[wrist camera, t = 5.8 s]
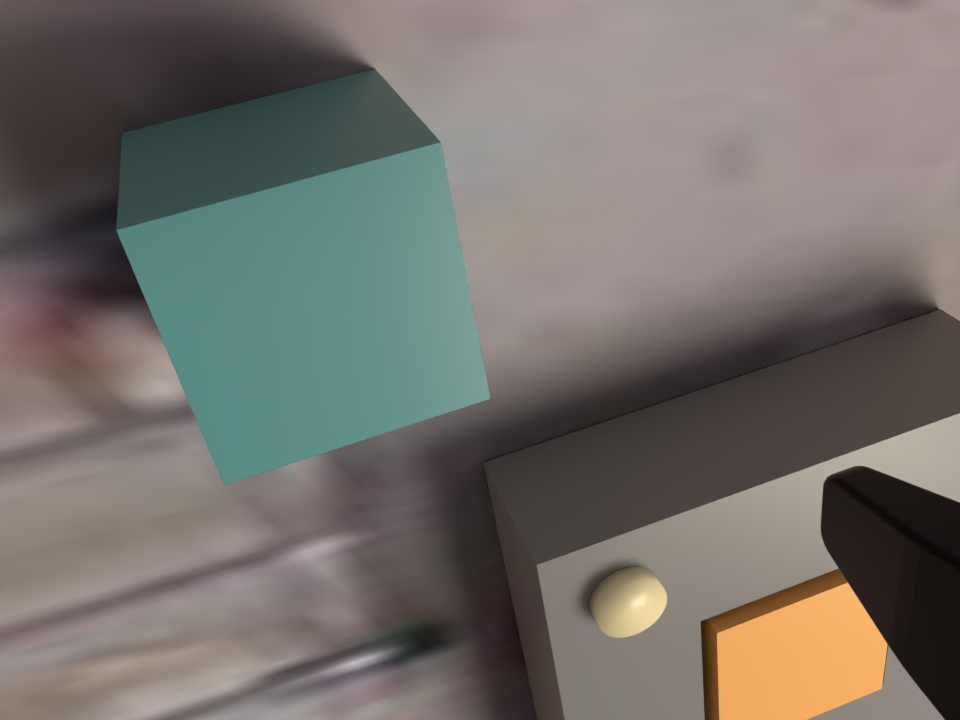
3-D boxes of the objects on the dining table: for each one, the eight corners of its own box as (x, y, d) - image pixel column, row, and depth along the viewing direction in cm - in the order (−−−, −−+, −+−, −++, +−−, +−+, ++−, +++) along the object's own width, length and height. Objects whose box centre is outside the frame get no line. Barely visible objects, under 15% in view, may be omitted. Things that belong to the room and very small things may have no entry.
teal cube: (422, 284, 21) (490, 398, 17) (207, 348, 20) (223, 485, 16) (374, 68, 18) (440, 142, 14) (122, 131, 17) (115, 230, 13)
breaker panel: (896, 628, 34) (987, 728, 30) (547, 768, 32) (600, 894, 28) (940, 308, 26) (1069, 389, 23) (483, 462, 24) (544, 580, 20)
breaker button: (830, 628, 30) (881, 688, 28) (679, 687, 29) (720, 755, 27) (840, 505, 27) (897, 563, 25) (671, 567, 26) (717, 633, 24)
